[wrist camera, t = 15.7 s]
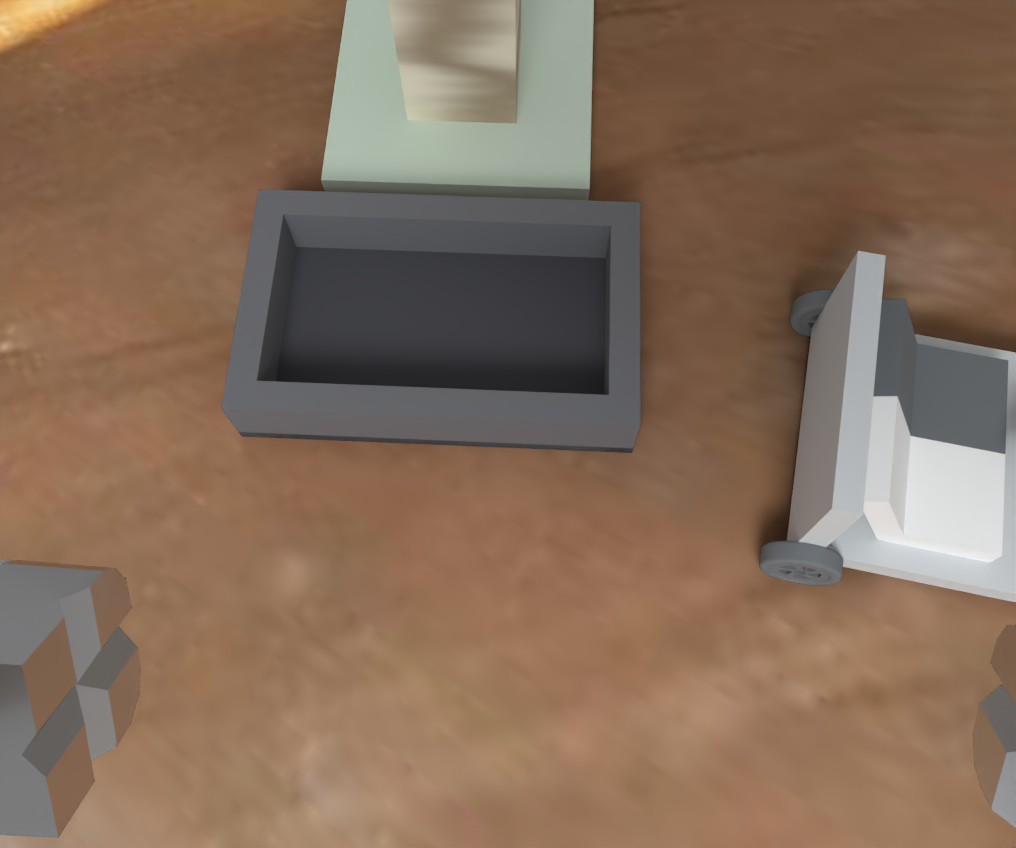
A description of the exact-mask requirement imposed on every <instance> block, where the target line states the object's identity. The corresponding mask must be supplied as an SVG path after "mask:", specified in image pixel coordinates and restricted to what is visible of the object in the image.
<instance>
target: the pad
mask: <svg viewBox="0 0 1016 848" xmlns="http://www.w3.org/2000/svg"><path fill="white" fill-rule="evenodd" d="M593 16H594V0H521V51H520V69H519V86H518V103H517V120H516V124H515V123H484V122H453V121H423V120H407V114H406V108H405V102H404V96H403V89H402V83H401V77H400V71H399V65H398V59H397V53H396V47H395V41H394V35H393V29H392V22H391V16H390V10H389V4H388V0H347V4H346V11H345V18H344V25H343V32H342V38H341V45H340V52H339V59H338V66H337V73H336V80H335V87H334V93H333V100H332V107H331V114H330V121H329V128H328V135H327V142H326V149H325V155H324V162H323V169H322V176H321V182H322V185H323V188H324V191H326V192H356V193H385V194H414V195H443V196H472V197H502V198H531V199H560V200H589V191H590V153H591V108H592V62H593Z"/></svg>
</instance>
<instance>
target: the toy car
mask: <svg viewBox="0 0 1016 848" xmlns="http://www.w3.org/2000/svg"><path fill="white" fill-rule="evenodd" d="M885 258H886V256H885V255H879V254H874V253H868V252H863V251H857V253H856V255H855V256H854V258H853V260H852V261H851V263H850V265H849V266H848V268H847V270H846V271H845V273H844V275H843V276H842V278H841V280H840V281H839V283H838V285H837V286H836V288H835V290H817V291H812V292H808V293H805V294H803V295H801V296H799V297H798V298H797V299H796V300H795V301H794V302H793V305H792V309H791V317H790V323H791V326H792V328H793V329H794V330H795V331H796V332H797V333H799V334H801V335H804V336H810V337H811V339H810V348H809V356H808V365H807V373H806V382H805V390H804V399H803V407H802V416H801V424H800V433H799V442H798V450H797V459H796V467H795V476H794V484H793V493H792V501H791V510H790V518H789V527H788V535H787V541H774V542H770V543H767V544H765V545H764V546H763V547H762V548H761V553H760V561H759V567H760V569H761V571H762V572H763V573H765V574H766V575H768V576H770V577H773V578H777V579H782V580H787V581H792V582H796V583H801V584H806V585H814V586H822V585H831V584H835V583H837V582H839V581H840V580H841V578H842V572H843V567H847V568H852V569H857V570H862V571H866V572H871V573H876V574H881V575H886V576H891V577H895V578H900V579H905V580H910V581H915V582H920V583H924V584H929V585H934V586H939V587H944V588H948V589H953V590H958V591H963V592H968V593H973V594H977V595H982V596H987V597H992V598H997V599H1001V600H1006V601H1011V602H1016V353H1015V352H1010V351H1004V350H999V349H993V348H988V347H983V346H977V345H972V344H966V343H961V342H955V341H950V340H945V339H939V338H934V337H928V336H923V335H918V334H915V333H914V329H913V326H912V322H911V318H910V315H909V311H908V307H907V304H906V300H905V299H889V300H882V292H883V281H884V270H885Z"/></svg>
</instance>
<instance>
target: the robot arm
mask: <svg viewBox="0 0 1016 848" xmlns="http://www.w3.org/2000/svg"><path fill="white" fill-rule="evenodd" d="M131 608H132V606H131V601H130V596H129V591H128V586H127V581H126V578H125V577H124V576H123V575H122V574H121V573H120V572H119V571H118V570H117V569H116V568H108V567H96V566H83V565H71V564H59V563H47V562H35V561H23V560H16V561H13V560H10V559H0V835H10V836H30V837H51V838H59V836H60V835H61V833H62V831H63V830H64V828H65V827H66V825H67V824H68V822H69V821H70V819H71V817H72V816H73V814H74V813H75V811H76V810H77V808H78V807H79V805H80V804H81V802H82V800H83V799H84V797H85V796H86V794H87V793H88V791H89V790H90V788H91V786H92V785H93V783H94V782H95V780H94V774H93V769H92V763H91V761H93V760H95V759H96V758H98V757H100V756H101V755H103V754H105V753H106V752H108V751H110V750H112V749H113V748H115V747H117V746H118V744H119V742H120V741H121V739H122V737H123V736H124V734H125V732H126V731H127V729H128V727H129V726H130V724H131V721H132V718H133V715H134V711H135V708H136V704H137V701H138V697H139V694H140V675H141V667H140V660H139V653H138V647H137V646H136V645H135V644H134V643H133V641H132V640H131V639H130V638H129V637H128V636H127V635H126V634H125V633H124V632H123V630H122V629H121V628H120V627H119V626H120V624H121V623H122V621H123V620H124V619H125V617H126V616H127V614H128V613H129V611H130V610H131ZM990 663H991V665H992V667H993V668H994V670H995V672H996V673H997V675H998V677H999V679H1000V680H1001V682H1002V685H1001V686H999V687H998V688H997V689H996V690H995V691H993V692H992V693H991V694H990V695H989V696H987V697H986V698H985V699H984V700H983V701H981V702H980V703H979V708H978V712H977V717H976V721H975V726H974V730H973V751H974V766H975V770H976V773H977V777H978V781H979V784H980V788H981V790H982V792H983V794H984V796H985V798H986V800H987V802H988V804H989V806H990V808H991V810H992V811H994V812H995V813H996V814H998V815H999V816H1000V817H1002V818H1003V819H1004V820H1006V821H1007V822H1008V823H1010V824H1011V825H1012V826H1014V827H1015V828H1016V625H1006V627H1005V628H1004V630H1003V631H1002V633H1001V634H1000V636H999V637H998V639H997V641H996V645H995V648H994V652H993V655H992V659H991V662H990ZM1012 848H1016V836H1015V840H1014V843H1013V847H1012Z"/></svg>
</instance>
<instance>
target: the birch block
mask: <svg viewBox="0 0 1016 848" xmlns="http://www.w3.org/2000/svg"><path fill="white" fill-rule="evenodd" d="M388 4H389V10H390V16H391V22H392V29H393V35H394V41H395V47H396V53H397V59H398V65H399V71H400V77H401V83H402V89H403V96H404V102H405V108H406V114H407V120H423V121H453V122H484V123H515V124H516V120H517V103H518V86H519V69H520V51H521V0H388Z"/></svg>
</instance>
